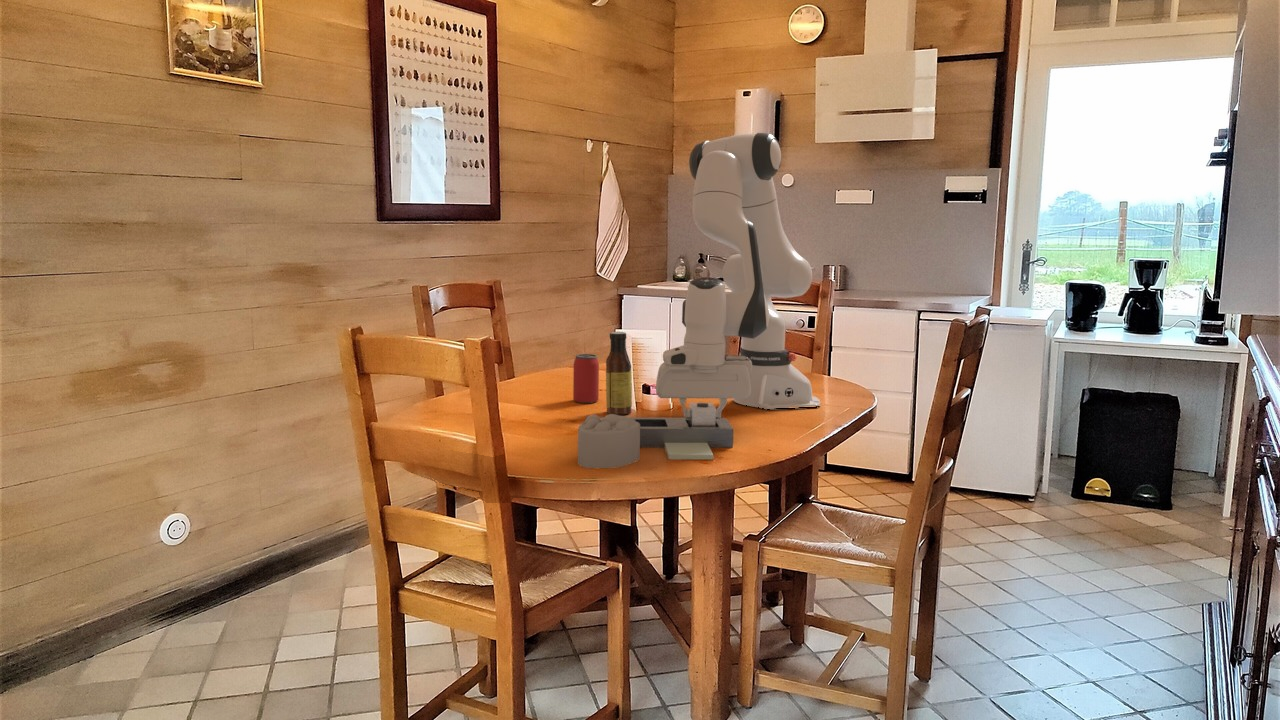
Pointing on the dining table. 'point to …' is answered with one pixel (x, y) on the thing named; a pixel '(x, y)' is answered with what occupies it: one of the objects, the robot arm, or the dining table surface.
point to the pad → (688, 451)
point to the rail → (683, 432)
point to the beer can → (586, 378)
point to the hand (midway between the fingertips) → (702, 418)
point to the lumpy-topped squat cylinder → (608, 441)
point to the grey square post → (702, 415)
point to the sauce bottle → (618, 376)
